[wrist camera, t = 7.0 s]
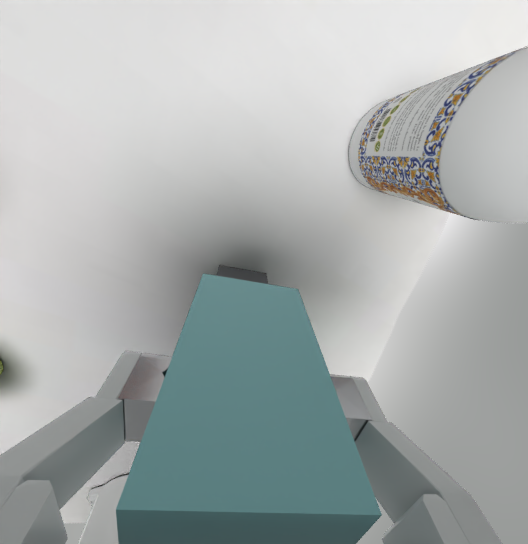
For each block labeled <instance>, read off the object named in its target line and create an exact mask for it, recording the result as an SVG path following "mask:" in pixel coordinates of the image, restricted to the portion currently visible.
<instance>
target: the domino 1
mask: <svg viewBox="0 0 528 544" xmlns="http://www.w3.org/2000/svg"><path fill="white" fill-rule="evenodd" d="M217 276H221V277H227V278H234V279H240V280H246V281H252V282H258V283H264V284H268V283H267V276H266V273H261V272H255V271H250V270H244V269H239V268H233V267H227V266H222V265H219V269H218V272H217Z"/></svg>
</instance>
